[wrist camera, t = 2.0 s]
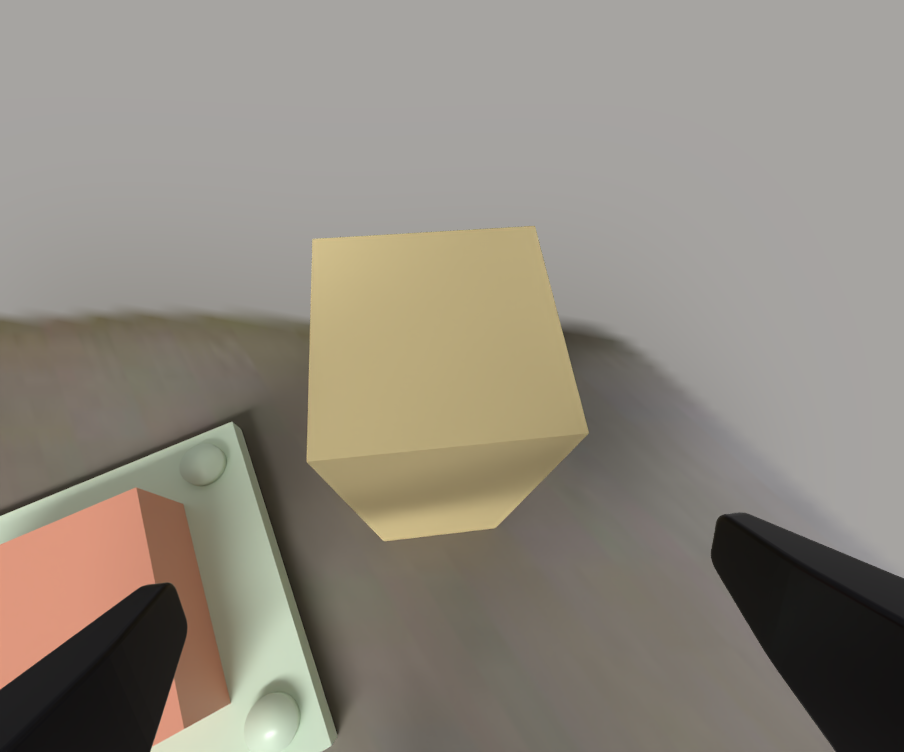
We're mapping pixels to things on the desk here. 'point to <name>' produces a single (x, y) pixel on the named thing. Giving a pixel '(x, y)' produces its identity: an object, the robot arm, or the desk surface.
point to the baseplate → (232, 588)
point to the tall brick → (437, 377)
